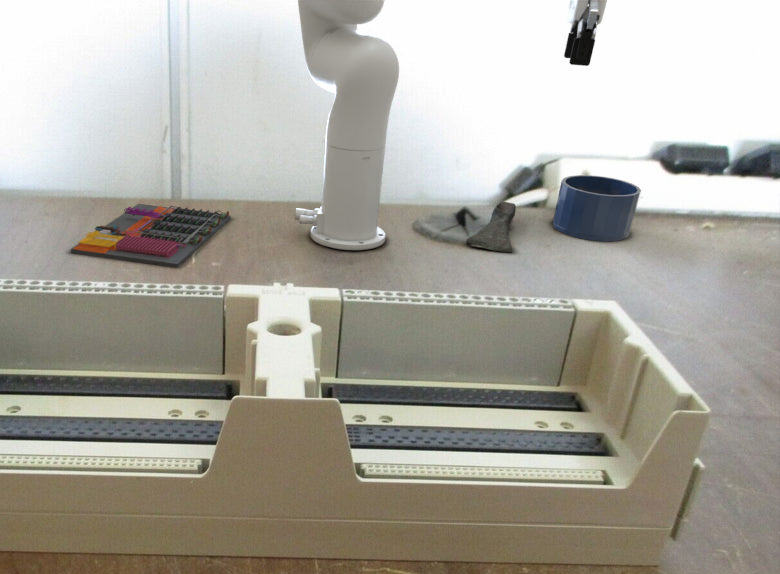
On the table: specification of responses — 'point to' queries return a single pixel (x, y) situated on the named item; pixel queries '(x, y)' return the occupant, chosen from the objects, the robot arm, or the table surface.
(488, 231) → the tool
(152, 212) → the circuit board
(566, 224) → the blue open cylinder
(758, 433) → the table surface
